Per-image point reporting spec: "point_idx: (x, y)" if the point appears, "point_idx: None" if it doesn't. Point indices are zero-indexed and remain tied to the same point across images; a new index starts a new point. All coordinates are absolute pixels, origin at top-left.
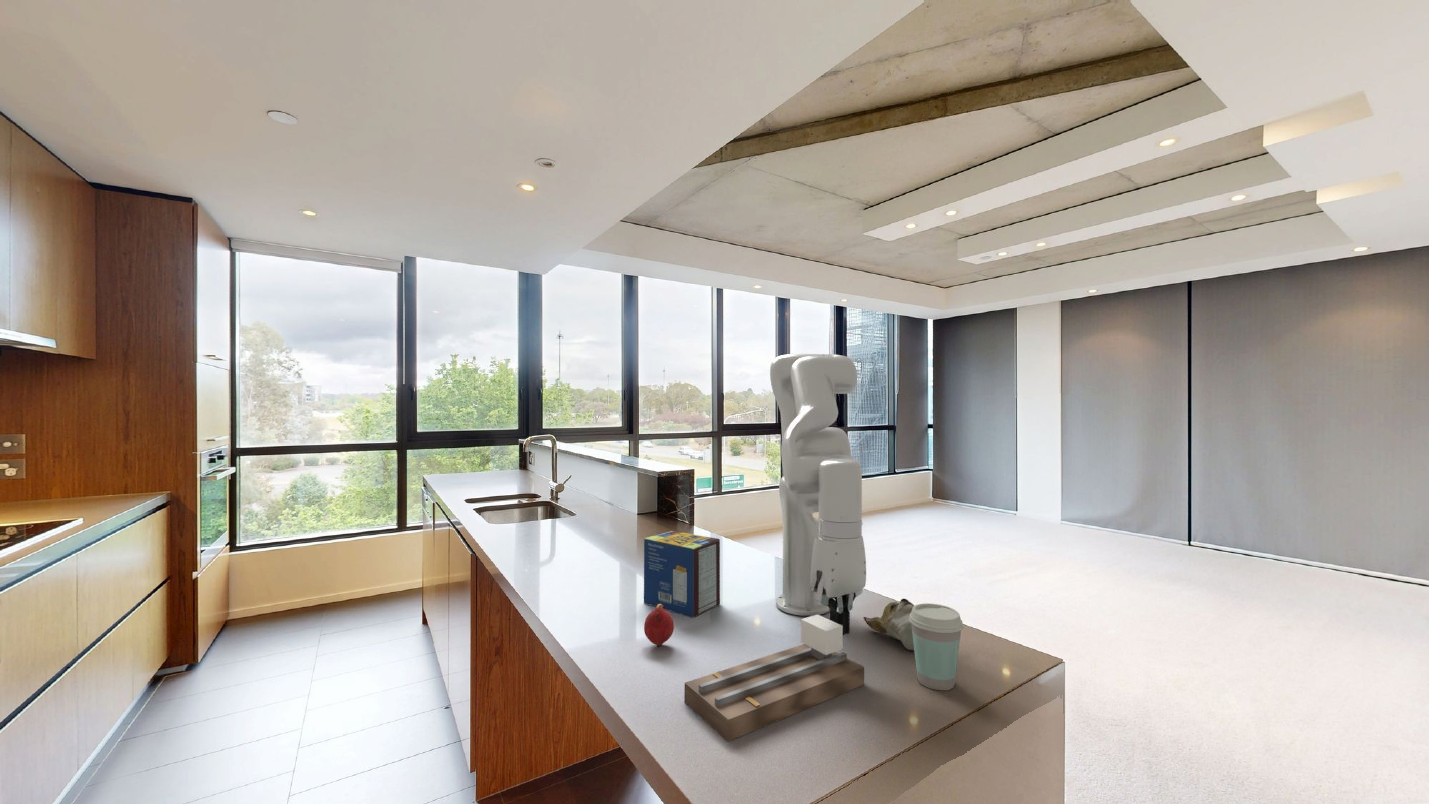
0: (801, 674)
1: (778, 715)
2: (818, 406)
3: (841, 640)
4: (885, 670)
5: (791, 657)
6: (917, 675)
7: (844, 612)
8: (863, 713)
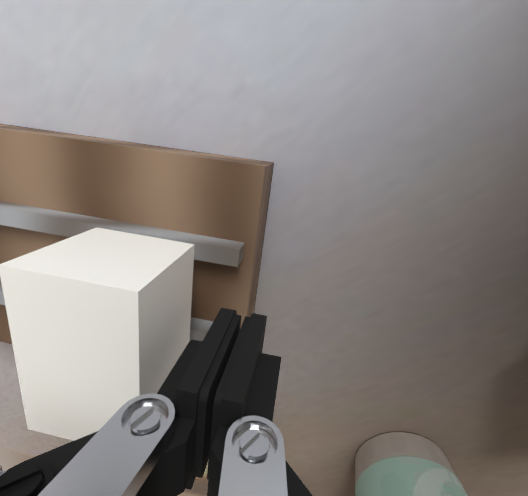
0: None
1: None
2: None
3: None
4: (366, 363)
5: (51, 233)
6: (375, 447)
7: (189, 484)
8: None
